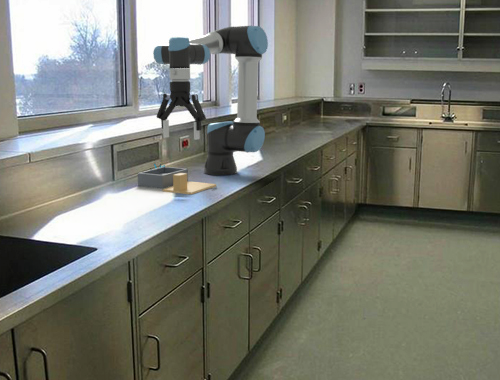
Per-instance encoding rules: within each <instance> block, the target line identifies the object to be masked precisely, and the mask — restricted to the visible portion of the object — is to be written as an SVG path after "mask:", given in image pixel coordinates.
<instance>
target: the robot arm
mask: <svg viewBox="0 0 500 380" xmlns="http://www.w3.org/2000/svg"><path fill="white" fill-rule="evenodd" d="M268 44H269V42H268V36H267V34H266V32H265V29H263V28H262V27H261V26H259V25H244V26H243V25H239V26H228V27H224V28H219V29H217V30H214V31H210V32H208V33H207V34H206V35H202V36H198V37H193V38H189V37H187V36H186V37H185V36H184V37H183V36H182V37H180V36H174V37H173V36H172V37H170V38H169V40H168V44H158V45H156V46H155V47H154V48H153V51H152V53H153V59H154V61H155V63H156V64H159V65H169V69H168V70H169V80H171V81H170V82H169V91H170V93H163V94H162V100H161V104H160V107H159V109H158V111H157V113H156V118H157V119H159V120H160V121H161V129H162V130H163V131H162V137H163V138H164V139H166V138H170V130H169V129H170V121H169V119H168V118H169V116H170V115H171V113H172V112H173V111H174V109H175V108H176V107H184V108H185V109H187V111H188V113H189V114H190V115H191V116H192V118H193V119H194V121H193V140H195V141H196V140H200V135H201V134H200V131H201V130H202V122H203V121H206V119H207V117H206V114H205V111H204V109H203V107H202V105H201V104H200V101H199V95H198V94H197V93H196V94H193V93H192V94H191V82H190V80H191V65H199V66H200V65H205V64H207V63H209V60H210V59H211V54H212V55H218V54H228V55H234V58H235V59H236V60H237V63H238V69H237V71H238V72H237V105H236V107H237V109H236V111H237V114H236V118H235V119H234V120H233V121H232V120H231V121H229V120H228V121H221V122H213V123H209V124H208V125H207V131H206V135H207V137H206V138H207V157H206V160H205V164H204V166H203V173H204V174H207V175H212V176H214V175H215V176H216V175H217V176H227V175H234V174H237V173H238V167H237V164H236V160H235V158H234V152H241V153H243V152H245V153H257V152H258V151H260V150H261V148H262V147H263V145H264V142H265V138H266V137H265V136H266V132H265V128H264V127H263V126H261V121H260V120H259V119H258V116H257V115H258V113H257V112H258V86H259V85H258V84H259V83H258V82H259V79H258V78H259V62H260V61H261V60H262V59H263V55H264V54H265V53H266V52H267V50H268V46H269V45H268ZM169 102H170V103H169ZM191 102H192V103H191Z"/></svg>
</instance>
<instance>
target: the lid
mask: <svg viewBox="0 0 500 380" xmlns="http://www.w3.org/2000/svg"><path fill="white" fill-rule="evenodd" d="M216 187H217V183H209V182H208V183H207V182H198V181H189V180H188V182H187V173H178V174H174V175H173V186H171V187H168V188H164V189H162V192H166V193H176V194H184V195H194V194H197V193H200V192H203V191H206V190H209V189H215V188H216Z"/></svg>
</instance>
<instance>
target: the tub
mask: <svg viewBox="0 0 500 380" xmlns="http://www.w3.org/2000/svg"><path fill="white" fill-rule="evenodd" d="M159 167H160V166H159ZM159 167H157V168H153V169H152V168H151V169H152V170H151V169H149V170H145V171H140V172H137V187H142V188H143V187H144V188H153V189H159V190H160V189H162V190H163V189H165V188H169V187H172V186H173V175H174V174H178V173H187V182H189V169H188V168H182V167H172V166H171V167H170V166H165V167H162V166H161V167H160V168H159ZM161 174H164V175H161Z"/></svg>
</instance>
